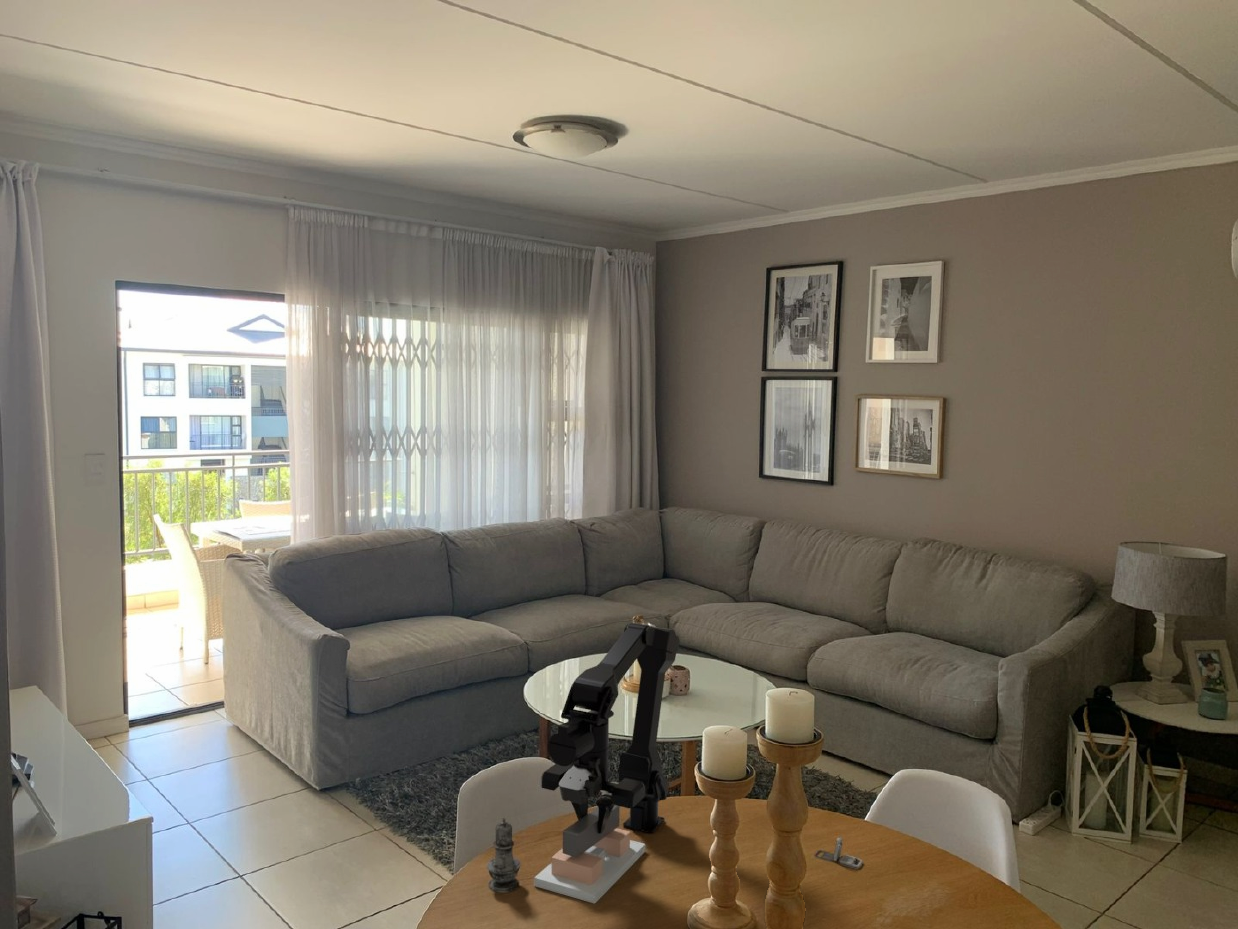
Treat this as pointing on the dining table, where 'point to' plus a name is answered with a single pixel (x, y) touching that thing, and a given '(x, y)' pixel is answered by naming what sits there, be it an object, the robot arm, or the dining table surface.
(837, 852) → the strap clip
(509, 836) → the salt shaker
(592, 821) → the frame bar
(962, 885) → the dining table surface
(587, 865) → the display stand
